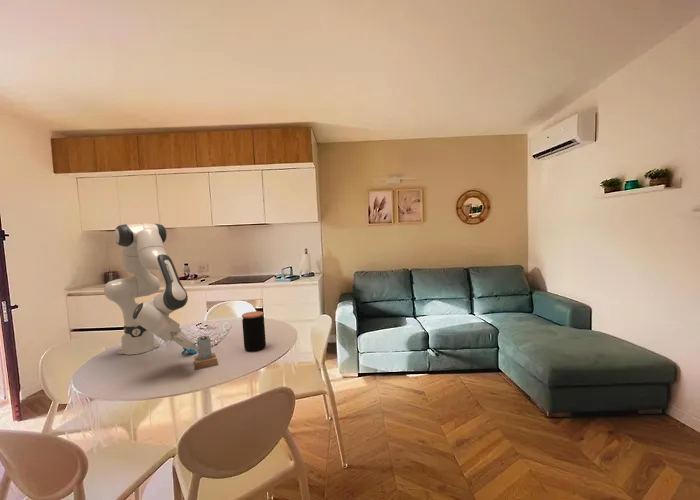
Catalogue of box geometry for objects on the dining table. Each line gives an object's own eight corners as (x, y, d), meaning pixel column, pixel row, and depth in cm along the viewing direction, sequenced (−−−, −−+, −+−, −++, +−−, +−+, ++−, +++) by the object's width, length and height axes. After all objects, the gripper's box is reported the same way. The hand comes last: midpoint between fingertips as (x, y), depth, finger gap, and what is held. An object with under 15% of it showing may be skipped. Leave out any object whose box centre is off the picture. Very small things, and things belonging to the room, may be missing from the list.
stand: (193, 362, 166) (192, 356, 166) (216, 358, 170) (215, 352, 170) (194, 370, 157) (193, 363, 157) (218, 365, 161) (217, 358, 161)
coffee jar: (265, 343, 188) (262, 310, 186) (267, 350, 178) (264, 314, 176) (244, 347, 184) (241, 312, 183) (244, 353, 174) (242, 317, 173)
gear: (192, 353, 173) (178, 339, 174) (184, 362, 173) (169, 348, 174) (202, 349, 184) (189, 335, 185) (194, 357, 184) (181, 344, 185)
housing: (197, 356, 165) (195, 336, 164) (211, 354, 167) (209, 334, 167) (198, 360, 159) (196, 339, 159) (212, 358, 162) (211, 337, 161)
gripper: (179, 329, 147) (205, 346, 153) (170, 320, 164) (194, 336, 170) (168, 342, 145) (195, 359, 151) (160, 331, 161) (185, 347, 168)
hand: (195, 347), depth 161 cm, fingers open, 8 cm apart
